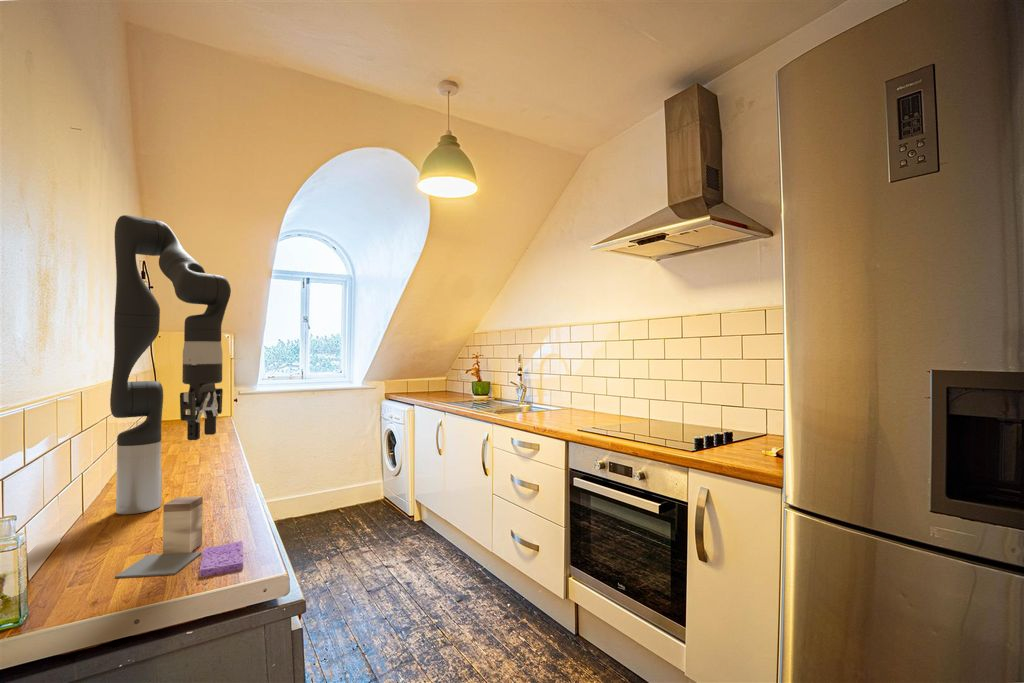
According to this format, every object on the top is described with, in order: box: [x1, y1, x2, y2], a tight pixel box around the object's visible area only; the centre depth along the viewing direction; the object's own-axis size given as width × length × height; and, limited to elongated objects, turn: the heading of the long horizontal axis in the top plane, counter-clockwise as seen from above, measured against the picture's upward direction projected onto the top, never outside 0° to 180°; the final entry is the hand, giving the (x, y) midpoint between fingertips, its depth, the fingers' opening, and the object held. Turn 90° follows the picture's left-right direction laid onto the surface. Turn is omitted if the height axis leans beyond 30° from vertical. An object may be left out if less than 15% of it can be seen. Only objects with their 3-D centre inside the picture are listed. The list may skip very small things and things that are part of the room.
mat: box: [114, 551, 203, 579], centre depth 93 cm, size 10×10×1 cm
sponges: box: [198, 540, 244, 578], centre depth 95 cm, size 7×13×2 cm, turn 29°
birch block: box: [162, 495, 204, 554], centre depth 101 cm, size 5×5×10 cm
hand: (202, 436), depth 109 cm, fingers open, 6 cm apart
